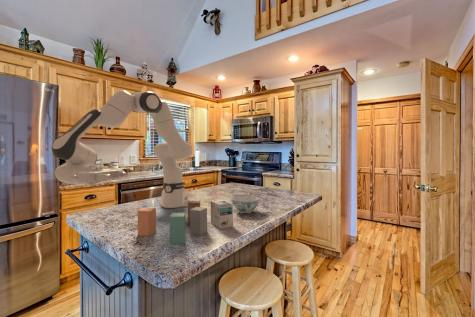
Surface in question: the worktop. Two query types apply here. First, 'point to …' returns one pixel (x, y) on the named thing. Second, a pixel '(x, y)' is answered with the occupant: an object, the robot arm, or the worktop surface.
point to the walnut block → (192, 205)
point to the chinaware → (245, 203)
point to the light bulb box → (222, 213)
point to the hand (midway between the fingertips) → (117, 175)
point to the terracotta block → (146, 221)
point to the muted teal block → (177, 228)
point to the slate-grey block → (198, 220)
